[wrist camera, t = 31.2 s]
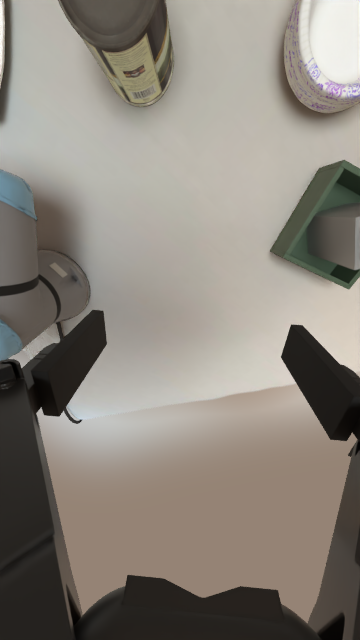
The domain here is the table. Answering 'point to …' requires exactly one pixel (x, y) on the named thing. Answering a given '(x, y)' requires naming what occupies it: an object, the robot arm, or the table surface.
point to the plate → (2, 38)
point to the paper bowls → (324, 53)
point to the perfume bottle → (336, 235)
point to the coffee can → (127, 44)
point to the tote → (322, 194)
